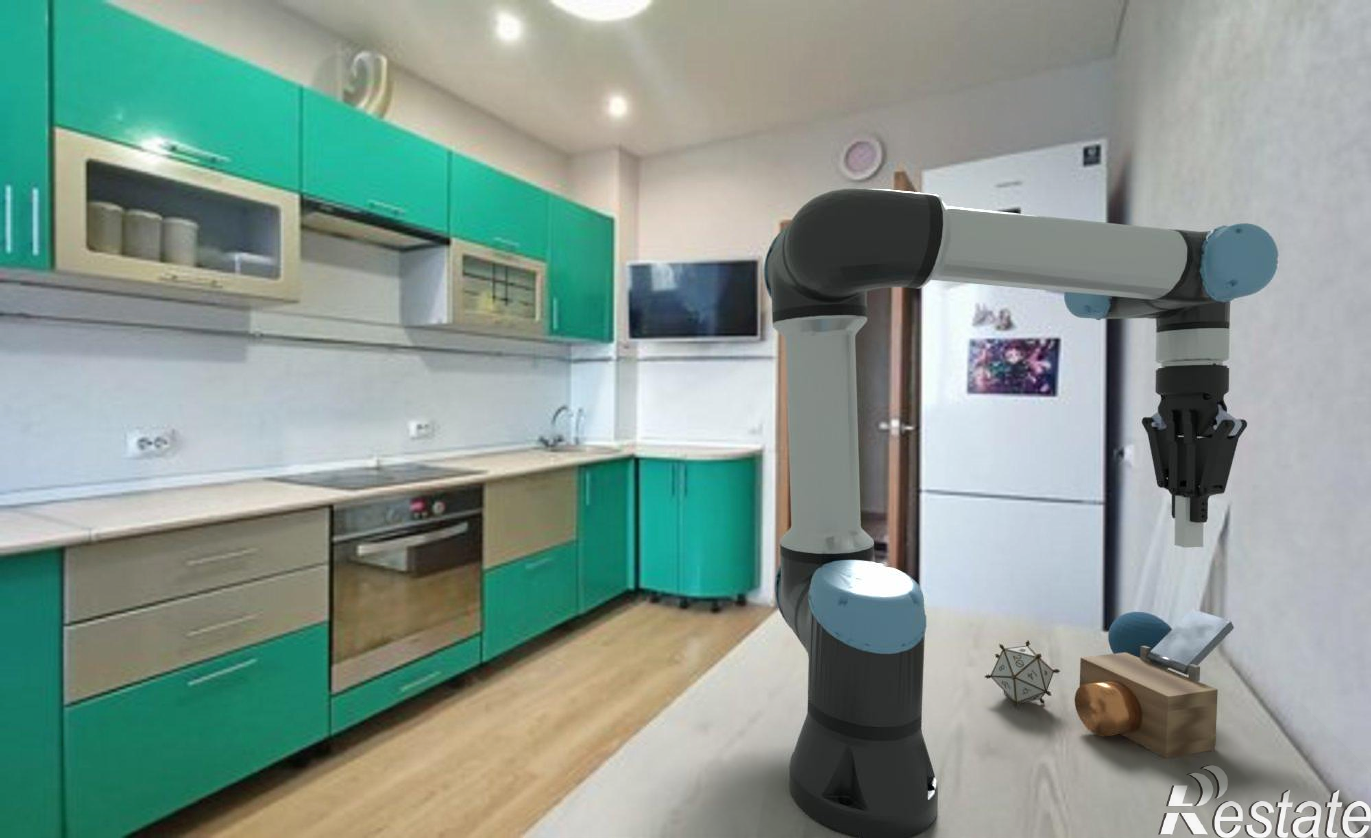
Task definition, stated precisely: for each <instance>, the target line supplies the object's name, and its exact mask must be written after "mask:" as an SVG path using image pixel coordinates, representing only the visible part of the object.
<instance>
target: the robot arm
mask: <svg viewBox="0 0 1371 838" xmlns="http://www.w3.org/2000/svg"><path fill="white" fill-rule="evenodd" d="M775 236H776V237H774V239H773V241H772V242H771V244H770V246H769V248H768V251H767V253H766V256H765V259H764V265H763V278H764V279H763V280H764V285H765V288H766V291H767V294H768V295H769V297H770V299H771V317H772V319H771V321H772V328H774V330H775V331H776V332H778V333H779V334H780V335H781V336H782V337H783V339H784V342H785V343H784V344H785V345H784V346H785V368H786V369H785V371H786V372H785V374H786V399H787V400H786V401H787V404H786V406H787V407H786V408H787V430H788V431H787V432H788V434H787V435H788V456H789V457H788V461H789V462H788V464H789V490H790V492H789V494H790V521H791V526H790V527H789V529H788V530H787V532H786V533H784V534H783V535H782V536H781V538H780V539H779V547H780V548H779V551H780V552H779V555H780V556H779V557H780V559H779V560H780V564H779V565H778V568H777V571H776V573H775V578H774V595H775V600H776V605H777V608H778V610H779V613H780V614H781V617H782V618H783V620H784V621H785V623H786V624H787V626H788V627H789V629H791V630H792V632H793V633H794V634H795V636H796V637H797V639H798V640H799V642H800V643H801V645H802V647H803V648H804V649H805V651H806V653H807V656H808V657H807V658H808V666H807V667H808V673H807V675H808V676H807V677H808V678H807V682H808V683H807V708H806V709H807V713H806V716H805V719H804V721H803V724H802V726H801V730H800V732H799V736H798V738H797V740H796V744H795V748H794V750H793V752H792V755H791V757H790V761H789V772H788V776H789V778H788V779H789V780H788V786H789V790H790V794H791V796H792V798H793V799H794V801H795V803H796V804H797V806H799V807H800V809H802V811H804V812H805V813H806V814H808V816H810V817H811V818H812V819H814V820H815V821H817V822H819V823H821V825H822V824H823V825H824V826H826V827H828V828H830V829H833V830H836V831H838V832H839V833H840V832H841V833H844V834H846V835H850V836H854V837H859V838H909V837H913V836H915V835H918V834H920V833H922V832H924V831H925V830H926V829H928V828H929V827H930V826H932V824H933V823H934V822H935V820H936V818H937V815H938V808H939V807H938V803H939V801H938V800H939V799H938V798H939V789H938V787H939V786H938V783H937V778H936V775H935V771H934V768H933V765H932V762H931V759H930V755H929V750H928V748H927V744H926V742H925V737H924V734H923V730H922V722H923V717H922V716H923V712H922V711H923V691H924V665H925V664H924V663H925V641H926V640H925V638H926V637H925V636H926V631H927V630H926V628H927V615H926V610H925V597H924V594H923V590H922V589H921V587H920V585H919V584H918V583H917V581H916V580H914V579H913V578H912V576H910V575H909V574H907V573H905V572H903V571H902V570H899V569H897V568H895V567H887V566H885V564H883V563H880V562H879V563H878V562H875V561H876V560H875V540H874V539H873V538H872V537H871V536H870V535H869V534H868V533H867V531H865V530H864V529H863V528H862V525H861V522H862V521H861V495H860V494H861V492H860V488H861V487H860V459H859V457H860V456H859V454H860V453H859V426H858V424H859V423H858V398H857V397H858V394H857V387H858V386H857V360H856V359H857V358H856V357H857V355H856V335H857V334H858V332H859V331H860V329H862V327H864V325H865V324H866V323H867V322H868V301H867V300H868V299H867V297H868V296H867V294H868V293H867V292H868V291H874V290H878V289H882V288H883V289H886V288H887V289H888V288H907V289H908V288H909V289H922V288H923V287H924V286H926V285H927V284H928V283H929V282H931V281H939V282H953V283H961V284H962V283H964V284H972V285H973V284H974V285H984V286H985V285H986V286H996V287H1009V288H1018V289H1030V290H1042V291H1051V292H1052V291H1053V292H1062V293H1064V295H1063V299H1064V304H1065V306H1066V309H1067V311H1069V312H1070V314H1072V315H1073V316H1075V317H1077V318H1080V319H1095V320H1096V321H1101V320H1102V319H1103V320H1105V319H1106V320H1107V319H1108V320H1111V319H1112V320H1113V319H1114V320H1115V319H1116V320H1117V319H1150V320H1151V319H1152V320H1153V319H1154V320H1155V330H1156V331H1155V333H1156V336H1155V337H1156V338H1155V362H1156V363H1157V364H1160V365H1161V366H1160V367H1157V369H1156V370H1155V386H1154V387H1155V394H1157V395H1159V396H1160V401H1159V403H1158V406H1157V412H1155V413H1154V414H1153V415H1152V416H1150V417H1149V416H1144V417H1142V419H1141V425H1142V426H1143V428H1144V429H1145V431H1146V434H1147V438H1148V443H1149V449H1150V454H1151V459H1152V464H1153V468H1154V474H1155V480H1156V484H1157V486H1158V488H1159V489H1162V488H1163V489H1165V490H1167V491H1168V492H1169V493H1170V494H1171V517H1172V519H1174V546H1176V547H1177V546H1178V547H1181V548H1201V547H1202V548H1203V547H1204V523H1207V521H1208V519H1209V517H1208V516H1209V515H1208V513H1209V511H1208V510H1209V498H1210V497H1212V496H1214V495H1222V494H1224V493H1225V491H1226V488H1227V485H1228V480H1229V478H1230V477H1229V476H1230V473H1231V468H1232V465H1233V462H1234V459H1235V458H1234V457H1235V453H1236V451H1237V450H1236V449H1237V446H1238V444H1239V443H1238V442H1239V438H1240V437H1241V436H1242V434H1243V432H1244V431H1245V429H1246V428H1247V427H1248V422H1247V420H1245V419H1243V418H1242V419H1240V418H1239V419H1236V418H1235V417H1234V416H1232V415H1231V414H1230V413H1228V407H1227V404H1226V403H1225V399H1224V397H1225V395H1227V394H1228V392H1229V391H1230V367H1228V366H1227V365H1225V364H1224V362H1226V361H1228V360H1229V359H1230V326H1231V324H1230V319H1231V318H1230V317H1231V302H1232V301H1234V299H1238V298H1243V297H1248V296H1252V295H1254V294H1257V293H1258V292H1260V291H1262V290H1263V289H1264V288H1265V287H1267V285H1269V283H1270V282H1271V281H1272V280H1273V278H1274V276H1275V274H1276V272H1277V269H1278V263H1279V262H1278V258H1279V251H1278V246H1277V243H1276V242H1275V240H1274V238H1273V237H1272V236H1271V234H1270V233H1269V232H1267V230H1265V229H1264V228H1262V227H1260V226H1258V225H1257V224H1252V223H1243V222H1242V223H1235V224H1231V225H1222V226H1217V227H1215V228H1213V229H1212V230H1209V231H1208V230H1207V231H1196V230H1184V229H1172V228H1158V227H1150V226H1140V225H1131V224H1123V223H1122V224H1119V223H1111V222H1100V221H1093V220H1092V221H1091V220H1082V219H1081V220H1080V219H1073V218H1063V217H1055V216H1053V217H1052V216H1044V215H1033V214H1027V213H1026V214H1025V213H1015V212H1006V211H1005V212H1004V211H996V210H994V211H993V210H985V209H978V208H977V209H976V208H965V207H958V206H948V205H946V204H945V202H944V201H943V200H942V198H941V197H940V196H939V195H937V194H933V193H923V192H916V191H915V192H914V191H905V190H893V189H892V190H891V189H882V188H881V189H880V188H843V189H842V188H841V189H836V190H832V191H828V192H826V193H822V194H819V195H817V196H815V197H813V198H812V199H811V200H809V201H808V202H806V203H805V204H804V205H803V206H801V207H800V208H799V210H798V211H797V213H795V214H794V215H793V217H792V220H790V222H788V224H787V225H786V226H785V227H783V229H782V230H781V231H780V232H779V233H778V234H777V235H775Z"/></svg>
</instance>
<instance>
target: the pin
mask: <svg viewBox="0 0 1371 838" xmlns="http://www.w3.org/2000/svg"><path fill="white" fill-rule="evenodd" d="M1074 707H1075V709H1076V710H1075V711H1076V714H1077V716H1078V717H1079V720H1080V721H1081V722H1082V724H1083V725H1084V727H1086V728H1087V730H1089V731H1090V732H1091V733H1093V734H1094V735H1097V736H1100V737H1109V736H1115V735H1122V733H1128V732H1133V731H1135V730H1137V729H1138V728H1139V727H1140V725H1141V722H1142V710H1141V706H1140V704H1139V701H1138V699H1137V698H1136V696H1135V695H1134V693H1133V692H1132V691H1131V690H1130V689H1129V688H1128V687H1127V686H1125V685H1124V684H1122V683H1120V682H1117V681H1106V682H1099V683H1091V684H1085V685H1082V686H1080V685H1079V686H1078V688H1077V689H1076V691H1075V695H1074Z"/></svg>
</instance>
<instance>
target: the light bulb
mask: <svg viewBox="0 0 1371 838" xmlns="http://www.w3.org/2000/svg"><path fill="white" fill-rule="evenodd" d="M1172 629H1173V628H1172V627H1171V626H1170V625H1169V624H1168V623H1167V622H1166V621H1165V620H1164V619H1162V618H1160V617H1158V616H1157V615H1154V614H1152V613H1148V612H1146V611H1132V612H1127V613H1123V614H1122V615H1121V614H1120V616H1117V618H1115V619H1114V620H1113V621H1112V623H1111V625H1110V627H1109V629H1108V635H1107V638H1108V639H1107V640H1108V645H1109V646H1110V650H1111V652H1112V654H1116V653H1125V652H1126V653H1129V654H1131V655H1134V656H1136V657H1139V658H1140V649H1141V646H1147V647H1150V648H1151V650H1152V649H1153V648H1154V647H1155V646H1156V645H1157V644H1158V643H1159V642H1160V641H1161V640H1162V639H1163V638H1164V637H1165V636H1166V635H1167V634H1168V633H1169V632H1170V631H1171V630H1172ZM1149 662H1151V663H1153V664H1156V665H1158V666H1161V667H1163V668H1166V669H1168V670H1169V668H1168V667H1166V666H1163V665H1161V664H1158V663H1156V662H1153V661H1151V660H1150V661H1149Z"/></svg>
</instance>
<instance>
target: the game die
mask: <svg viewBox="0 0 1371 838" xmlns="http://www.w3.org/2000/svg"><path fill="white" fill-rule="evenodd" d="M1030 644H1031V642H1030V640H1027V641H1025V645H1021V646H1014V647H1007V648H1005V646H1004V644H1001V643H999V648H1000V650H1001V651H1000V654H998V653H995V654H994V655H995V658H997V661H996V662H995V665H994V667H993V669H992V671H991V673H990V674H986V675H984V679H985V678H986V679H991V680H992V681H994V682H995V683H996V684H997V686H999V687H1000V688H1001V689H1002V691H1003V694H1004V693H1005V694H1006V695H1008V697H1010V699H1011V700H1012V701H1013V702H1014V703H1013V708H1014V710H1016V709H1018V708H1019V704H1020V703H1027V702H1033V701H1039V702H1040V704H1043V705H1045V700H1044V699H1043V697H1044V696H1045V695H1047V696H1048V697H1049V696H1050V697H1052V693H1051V691H1050V690H1049V688H1050V687H1049V686H1050V683H1051V681H1052V679H1053V676H1054V674H1059V673H1060V672H1061V670H1059V669H1058V668H1056V669H1053V668H1051V667H1050V666H1049V664H1048V663H1047V662H1045V661H1044V660H1043V659H1042V653H1036V652H1035V651H1034V650H1033V649H1032V648H1031V647H1030Z"/></svg>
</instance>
